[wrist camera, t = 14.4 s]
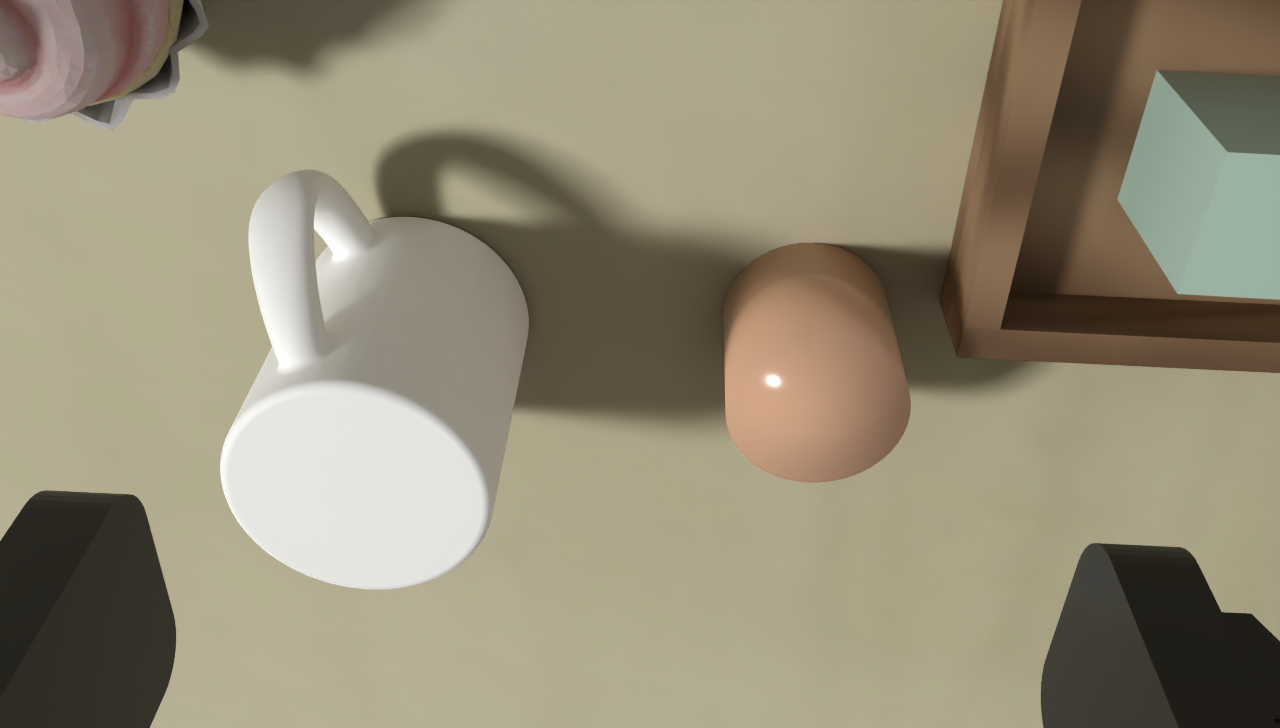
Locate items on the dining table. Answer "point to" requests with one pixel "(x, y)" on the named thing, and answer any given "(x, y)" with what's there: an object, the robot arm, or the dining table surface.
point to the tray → (1092, 190)
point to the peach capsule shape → (812, 365)
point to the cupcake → (91, 55)
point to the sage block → (1209, 182)
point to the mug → (373, 390)
